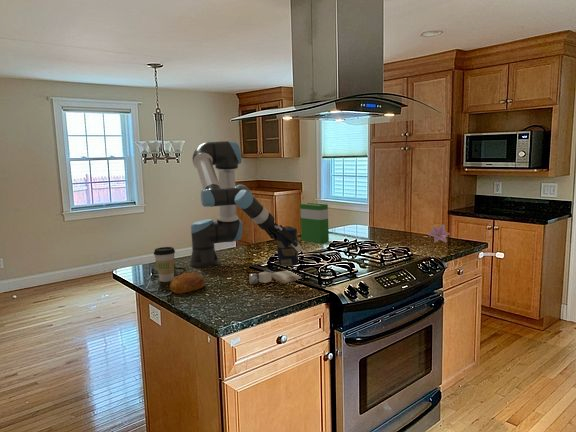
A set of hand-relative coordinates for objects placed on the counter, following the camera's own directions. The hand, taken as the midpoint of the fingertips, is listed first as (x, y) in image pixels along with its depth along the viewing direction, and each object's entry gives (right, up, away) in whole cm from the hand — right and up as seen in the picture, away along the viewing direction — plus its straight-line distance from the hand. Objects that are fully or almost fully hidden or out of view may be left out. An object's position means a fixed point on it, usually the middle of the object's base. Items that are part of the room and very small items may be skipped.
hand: (293, 248), depth 208 cm
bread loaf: (-47, -17, -11) cm, 51 cm away
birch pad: (-2, -13, 0) cm, 14 cm away
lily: (+90, -1, +67) cm, 112 cm away
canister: (-2, -8, -1) cm, 8 cm away
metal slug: (-18, -15, -7) cm, 24 cm away
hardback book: (+15, -2, +83) cm, 84 cm away
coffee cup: (-59, -15, +4) cm, 61 cm away
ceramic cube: (-13, -15, -5) cm, 20 cm away
